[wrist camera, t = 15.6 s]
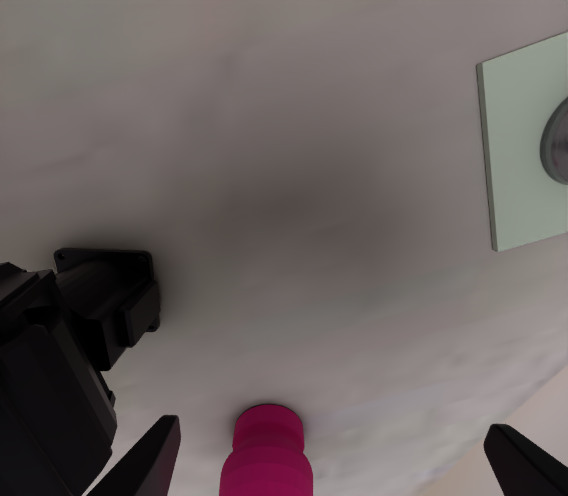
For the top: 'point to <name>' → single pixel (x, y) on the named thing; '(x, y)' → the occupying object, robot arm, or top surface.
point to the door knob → (556, 144)
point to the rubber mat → (522, 141)
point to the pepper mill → (267, 456)
